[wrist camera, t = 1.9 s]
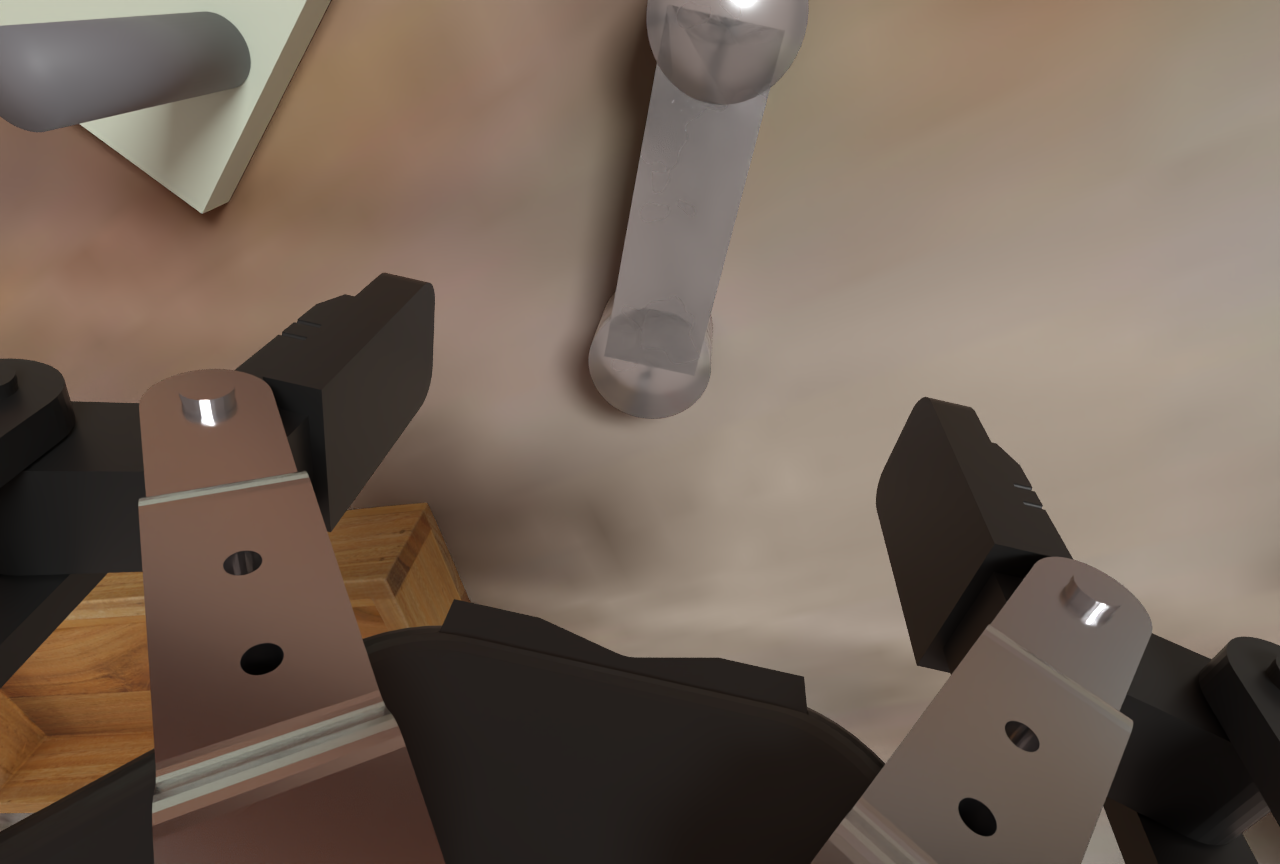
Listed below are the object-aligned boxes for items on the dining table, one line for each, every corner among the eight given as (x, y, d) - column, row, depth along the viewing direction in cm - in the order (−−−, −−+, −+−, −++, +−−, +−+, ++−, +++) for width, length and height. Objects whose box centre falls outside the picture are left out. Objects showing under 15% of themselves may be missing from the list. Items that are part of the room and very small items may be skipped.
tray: (432, 495, 32) (379, 587, 27) (523, 714, 39) (494, 815, 35) (-112, 543, 37) (-235, 625, 33) (61, 725, 45) (-18, 814, 40)
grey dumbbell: (698, 387, 27) (695, 429, 24) (594, 364, 27) (580, 404, 24) (817, -56, 19) (830, -61, 17) (672, -90, 19) (664, -99, 17)
